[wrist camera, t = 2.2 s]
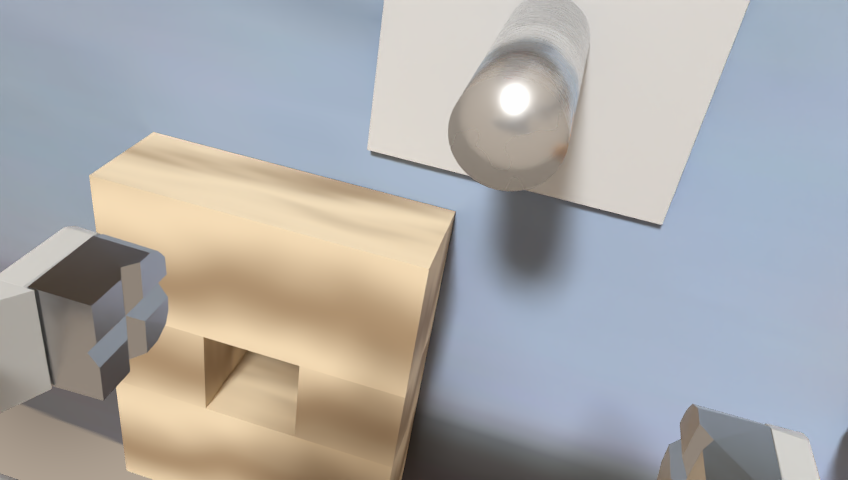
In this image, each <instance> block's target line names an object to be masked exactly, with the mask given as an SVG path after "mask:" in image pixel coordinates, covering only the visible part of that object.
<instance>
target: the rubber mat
mask: <svg viewBox="0 0 848 480" xmlns="http://www.w3.org/2000/svg"><path fill="white" fill-rule="evenodd" d="M524 1H525V0H384V7H383V16H382V25H381V33H380V42H379V51H378V60H377V68H376V77H375V86H374V95H373V103H372V112H371V121H370V130H369V138H368V147H367V150H370V151H374V152H378V153H382V154H386V155H390V156H394V157H397V158H401V159H405V160H409V161H413V162H417V163H421V164H425V165H429V166H433V167H437V168H441V169H444V170H448V171H452V172H456V173H460V174H464V175H468V174H467V173H466V172H465V171H463V169H462V168H461V167H460V166H459V164H458V163H457V161H456V160H455V158H454V156H453V153H452V151H451V148H450V145H449V139H448V124H449V119H450V115H451V113H452V110H453V108H454V106H455V105H456V103H457V101H458V100H459V98H460V96H461V95H462V93H463V92H464V90H465V88H466V87H467V85H468V83H469V82H470V80H471V79H472V77H473V75H474V74H475V72H476V70H477V69H478V67H479V66H480V64H481V62H482V61H483V59H484V57H485V56H486V54H487V53H488V51H489V49H490V48H491V46H492V44H493V43H494V41H495V40H496V38H497V36H498V35H499V33H500V31H501V30H502V28H503V27H504V25H505V23H506V22H507V20H508V18H509V17H510V15H511V14H512V12H513V11H514V10H515V8H516V7H518V6H519V5H520V4H521V3H522V2H524ZM571 1H572V2H574V3H575V4H576V5H577V6H578V7H579V8H580V9H581V10H582V12H583V13H584V15H585V16H586V18H587V21H588V24H589V28H590V45H589V50H588V54H587V59H586V64H585V69H584V73H583V78H582V83H581V88H580V93H579V97H578V102H577V107H576V112H575V117H574V121H573V126H572V131H571V136H570V141H569V145H568V150H567V153H566V156H565V159H564V161H563V162H562V164H561V166H560V167H559V169H558V170H557V171H556V172H555V173H554V174H553V175H552V176H551V177H550V178H549V179H547V180H546V181H545V182H543V183H541V184H540V185H537V186H535V187H533V188H530V189H526V190H527V191H531V192H535V193H539V194H542V195H546V196H550V197H554V198H558V199H562V200H566V201H570V202H574V203H578V204H582V205H586V206H589V207H593V208H597V209H601V210H605V211H609V212H613V213H617V214H621V215H625V216H629V217H633V218H636V219H640V220H644V221H648V222H652V223H656V224H660V225H662V223H663V221H664V218H665V216H666V213H667V211H668V208H669V206H670V203H671V201H672V198H673V195H674V193H675V190H676V188H677V185H678V183H679V180H680V178H681V175H682V172H683V170H684V167H685V165H686V162H687V160H688V157H689V155H690V152H691V150H692V147H693V144H694V142H695V139H696V137H697V134H698V132H699V129H700V127H701V124H702V122H703V119H704V116H705V114H706V111H707V109H708V106H709V104H710V101H711V99H712V96H713V93H714V91H715V88H716V86H717V83H718V81H719V78H720V76H721V73H722V71H723V68H724V65H725V63H726V60H727V58H728V55H729V53H730V50H731V48H732V45H733V43H734V40H735V37H736V35H737V32H738V30H739V27H740V25H741V22H742V20H743V17H744V14H745V12H746V9H747V7H748V4H749V2H750V0H571ZM468 176H469V175H468Z"/></svg>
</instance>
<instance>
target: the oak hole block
mask: <svg viewBox="0 0 848 480" xmlns="http://www.w3.org/2000/svg"><path fill="white" fill-rule="evenodd" d="M89 177H90V185H91V193H92V201H93V209H94V217H95V225H96V232H97V233H99V234H105V235H108V236H111V237H115V238H118V239H121V240H124V241H127V242H131V243H134V244H137V245H140V246H143V247H147V248H150V249H153V250H156V251H159V252H160V253H161V254H162V255H163V256H165V262H166V272H167V275H166V276H165V277H164V278H163V279H162V280H161V281H160V282H159V285H160V286H161V288H162V289H163V291H164V292H165V293H166V295H167V296H168V315H167V320H166V325H165V327H164V329H163V331H162V333H161V335H160V337H159V339H158V341H157V342H156V343H155V344H154V346H153V347H152V348H151V349H150V350H149V351H148V353H145V354H143V355H140V356H137V357H135V358H132V359H130V372H129V374H128V375H127V376H126V377H125V378H124V379H123V380H122V381H121V382H120V383H119V384H118V386H117V387H116V390H117V398H118V406H119V413H120V421H121V429H122V437H123V445H124V453H125V460H126V468H127V471H129V472H132V473H136V474H138V475H141V476H144V477H147V478H150V479H153V480H402V475H403V470H404V465H405V460H406V455H407V450H408V446H409V441H410V436H411V431H412V426H413V421H414V416H415V411H416V406H417V401H418V396H419V391H420V386H421V381H422V376H423V371H424V366H425V361H426V356H427V351H428V346H429V341H430V336H431V331H432V326H433V321H434V316H435V311H436V306H437V301H438V296H439V291H440V286H441V281H442V276H443V271H444V266H445V261H446V256H447V251H448V246H449V241H450V236H451V231H452V226H453V221H454V216H455V211H452V210H448V209H444V208H440V207H437V206H433V205H429V204H425V203H421V202H418V201H414V200H410V199H406V198H402V197H399V196H395V195H391V194H387V193H383V192H380V191H376V190H372V189H368V188H364V187H360V186H357V185H353V184H349V183H345V182H341V181H338V180H334V179H330V178H326V177H322V176H319V175H315V174H311V173H307V172H303V171H300V170H296V169H292V168H288V167H284V166H281V165H277V164H273V163H269V162H265V161H262V160H258V159H254V158H250V157H246V156H243V155H239V154H235V153H231V152H227V151H224V150H220V149H216V148H212V147H208V146H205V145H201V144H197V143H193V142H189V141H185V140H182V139H178V138H174V137H170V136H166V135H163V134H159V133H155V132H153V133H152V134H150V135H149V136H147V137H146V138H144V139H143V140H141V141H140V142H138V143H137V144H135V145H134V146H132V147H131V148H129V149H128V150H126V151H125V152H123V153H122V154H120V155H119V156H117V157H116V158H114V159H113V160H111V161H110V162H109V163H107V164H106V165H104V166H103V167H101V168H100V169H98V170H97V171H95V172H94V173H92V174H91V175H89Z"/></svg>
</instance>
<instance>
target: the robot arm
mask: <svg viewBox="0 0 848 480" xmlns="http://www.w3.org/2000/svg"><path fill="white" fill-rule="evenodd" d="M166 275H167V272H166V262H165V256H163V255H162V254H161V253H160V252H159V251H156V250H153V249H150V248H147V247H143V246H140V245H137V244H134V243H131V242H127V241H124V240H121V239H118V238H115V237H111V236H108V235H105V234H99V233H97V232H94V231H90V230H87V229H84V228H80V227H77V226H70V227H64V228H63V229H61V230H60V231H59V232H57V233H56V234H54V235H53V236H52V237H50V238H49V239H47V240H46V241H45V242H43V243H42V244H40V245H39V246H38V247H36V248H35V249H33V250H32V251H31V252H29V253H28V254H26V255H25V256H24V257H22V258H21V259H19V260H18V261H17V262H15V263H14V264H12V265H11V266H10V267H8V268H7V269H5V270H4V271H3V272H1V273H0V413H2V412H3V411H6V410H8V409H10V408H12V407H14V406H16V405H19V404H21V403H23V402H25V401H27V400H29V399H31V398H33V397H35V396H38V395H40V394H42V393H44V392H46V391H48V390H50V389H52V386H55V387H58V388H61V389H65V390H68V391H72V392H75V393H79V394H82V395H86V396H89V397H93V398H96V399H100V400H103V401H104V400H105V399H106V398H107V396H108V395H109V394H110V393H111V392H112V391H113V390H114V389H115V388H116V387H117V386H118V384H119V383H120V382H121V381H122V380H123V379H124V378H125V377H126V376H127V375H128V374H129V372H130V359H132V358H135V357H137V356H140V355H143V354H145V353H148V351H149V350H150V349H151V348H152V347H153V346H154V344H155V343H156V342H157V341H158V339H159V337H160V335H161V333H162V331H163V329H164V327H165V325H166V320H167V315H168V296H167V295H166V293H165V292H164V291H163V289H162V288H161V286H160V285H159V282H160V281H161V280H162V279H163V278H164V277H165V276H166ZM680 432H681V439H680V440H678V441H676V442H674V443H671V444H669V446H668V448H667V451H666V453H665V455H664V457H663V460H662V462H661V466H660V470H659V474H658V478H657V480H820V477H819V474H818V470H817V467H816V463H815V460H814V456H813V453H812V449H811V446H810V442H809V439H808V438H807V437H806V436H805V435H804V434H803V433H800V432H797V431H793V430H789V429H785V428H781V427H778V426H774V425H770V424H762V423H759V422H756V421H752V420H749V419H745V418H741V417H738V416H734V415H731V414H727V413H724V412H720V411H716V410H713V409H709V408H706V407H702V406H698V405H695V404H692V405H691V406H690V407H689V408H688V409H687V410H686V412H685V414H684V416H683V418H682V420H681V422H680ZM0 480H18V479H15V478H12V477H9V476H6V475H3V474H0Z"/></svg>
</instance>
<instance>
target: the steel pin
mask: <svg viewBox="0 0 848 480" xmlns="http://www.w3.org/2000/svg"><path fill="white" fill-rule="evenodd" d="M589 45H590V28H589V24H588V21H587V18H586V16H585V15H584V13H583V12H582V10H581V9H580V8H579V7H578V6H577V5H576V4H575V3H574V2H572V1H571V0H525V1H524V2H522V3H521V4H520V5H519V6H518V7H516V8H515V10H514V11H513V12H512V14H511V15H510V17H509V18H508V20H507V22H506V23H505V25H504V27H503V28H502V30H501V31H500V33H499V35H498V36H497V38H496V40H495V41H494V43H493V44H492V46H491V48H490V49H489V51H488V53H487V54H486V56H485V57H484V59H483V61H482V62H481V64H480V66H479V67H478V69H477V70H476V72H475V74H474V75H473V77H472V79H471V80H470V82H469V83H468V85H467V87H466V88H465V90H464V92H463V93H462V95H461V96H460V98H459V100H458V101H457V103H456V105H455V106H454V108H453V110H452V113H451V115H450V119H449V124H448V139H449V145H450V148H451V151H452V153H453V156H454V158H455V160H456V161H457V163H458V164H459V166H460V167H461V168H462V169H463V171H465V172H466V173H467V174H468V175H469V176H470V177H471V178H473V179H474V180H475V181H477V182H479V183H480V184H482V185H485V186H487V187H489V188H493V189H496V190H501V191H521V190H526V189H530V188H533V187H535V186H537V185H540V184H541V183H543V182H545V181H546V180H547V179H549V178H550V177H551V176H552V175H553V174H554V173H555V172H556V171H557V170H558V169H559V167H560V166H561V164H562V162H563V161H564V159H565V156H566V153H567V150H568V145H569V141H570V136H571V131H572V126H573V121H574V117H575V112H576V107H577V102H578V97H579V93H580V88H581V83H582V78H583V73H584V69H585V64H586V59H587V54H588V50H589Z"/></svg>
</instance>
